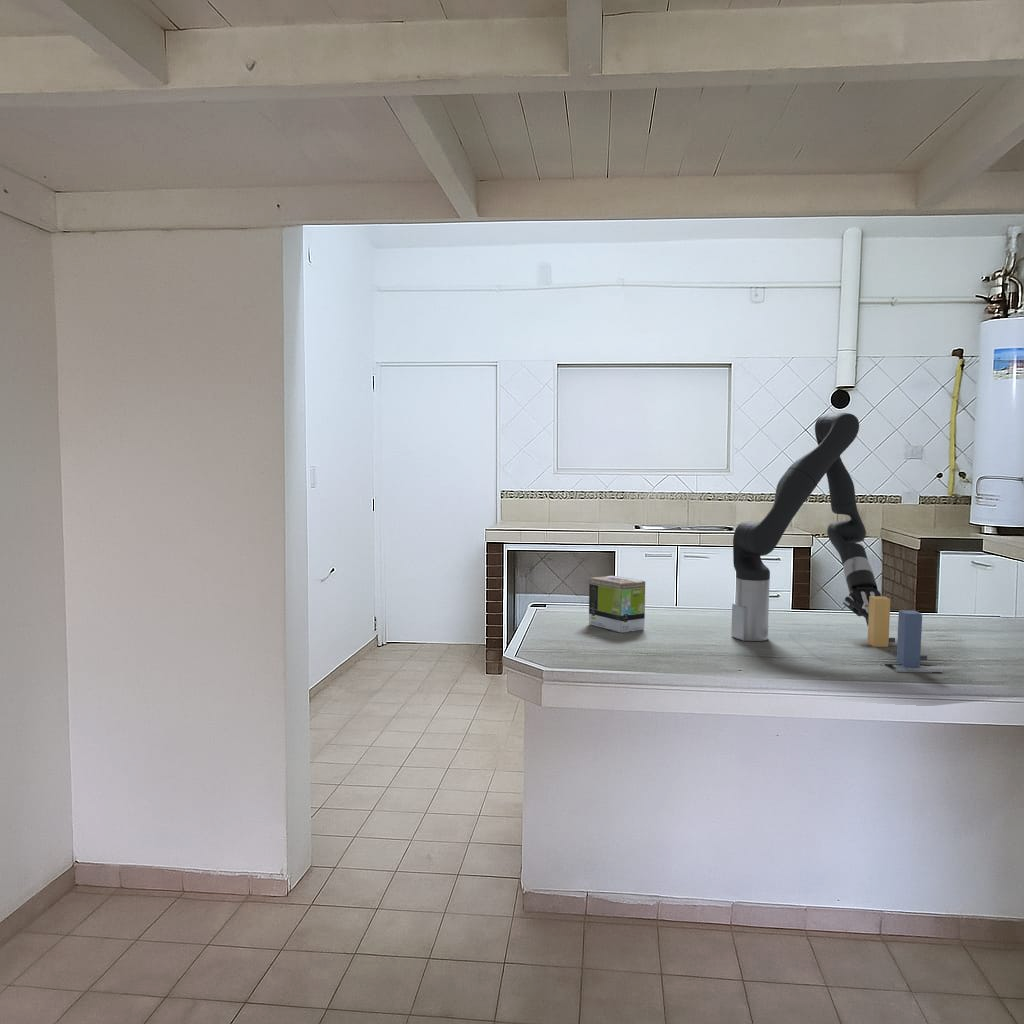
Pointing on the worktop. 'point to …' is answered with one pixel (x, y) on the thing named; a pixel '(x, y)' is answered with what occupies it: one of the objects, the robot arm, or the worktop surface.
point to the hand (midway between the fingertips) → (874, 627)
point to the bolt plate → (914, 668)
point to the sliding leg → (879, 621)
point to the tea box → (617, 603)
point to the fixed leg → (909, 638)
